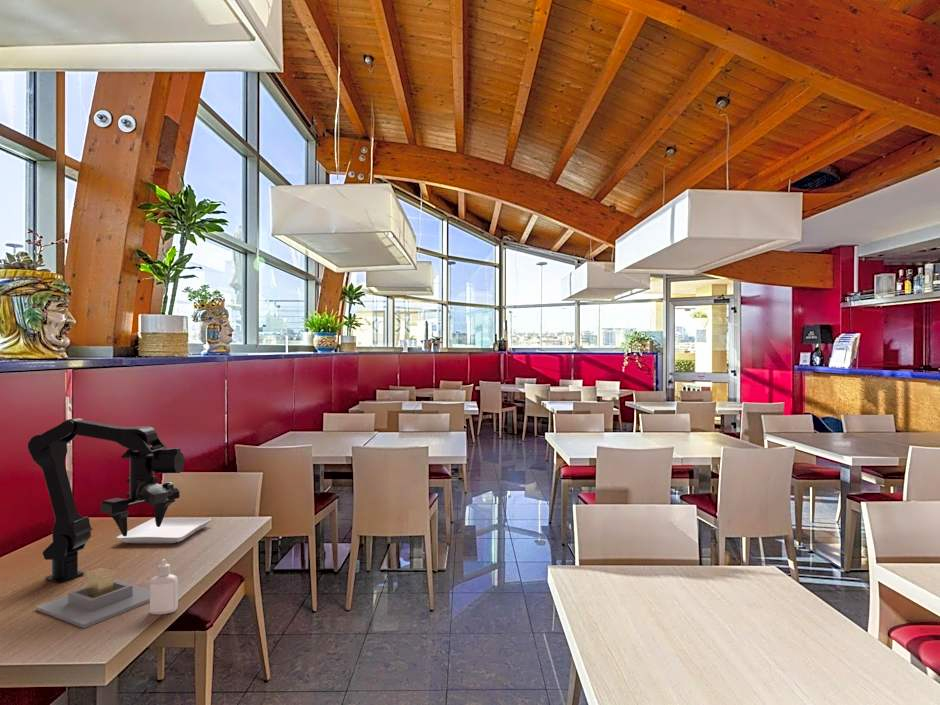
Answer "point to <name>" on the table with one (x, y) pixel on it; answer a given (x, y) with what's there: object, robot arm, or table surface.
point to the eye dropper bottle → (163, 591)
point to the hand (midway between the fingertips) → (142, 531)
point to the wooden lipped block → (100, 582)
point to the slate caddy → (96, 604)
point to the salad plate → (164, 530)
